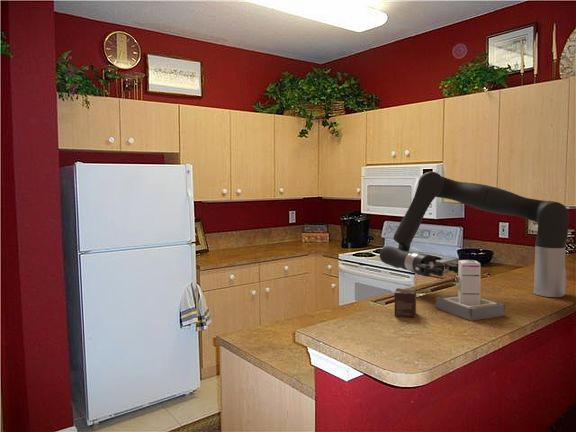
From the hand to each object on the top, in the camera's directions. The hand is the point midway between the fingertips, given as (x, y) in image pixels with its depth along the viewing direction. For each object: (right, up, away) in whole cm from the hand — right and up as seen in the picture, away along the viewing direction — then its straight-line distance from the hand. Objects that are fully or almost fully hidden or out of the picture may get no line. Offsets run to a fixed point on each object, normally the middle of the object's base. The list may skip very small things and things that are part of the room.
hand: (452, 272), depth 145 cm
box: (-18, -12, -9) cm, 23 cm away
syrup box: (+3, -10, -6) cm, 12 cm away
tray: (+3, -11, -6) cm, 13 cm away
